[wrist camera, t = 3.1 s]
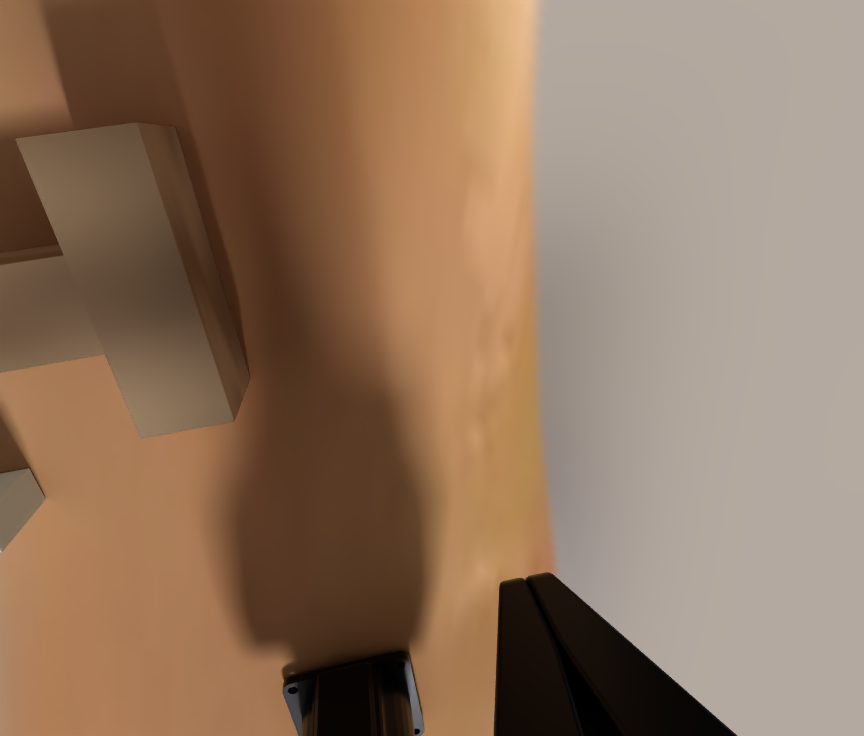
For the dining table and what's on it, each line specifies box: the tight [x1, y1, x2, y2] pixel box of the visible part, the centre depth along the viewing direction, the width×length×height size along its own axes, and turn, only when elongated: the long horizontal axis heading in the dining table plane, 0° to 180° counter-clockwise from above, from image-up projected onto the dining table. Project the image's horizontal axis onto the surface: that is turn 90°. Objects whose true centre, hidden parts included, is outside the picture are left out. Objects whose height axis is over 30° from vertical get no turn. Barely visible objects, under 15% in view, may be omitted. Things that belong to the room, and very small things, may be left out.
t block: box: [0, 122, 250, 439], centre depth 17 cm, size 9×9×4 cm
